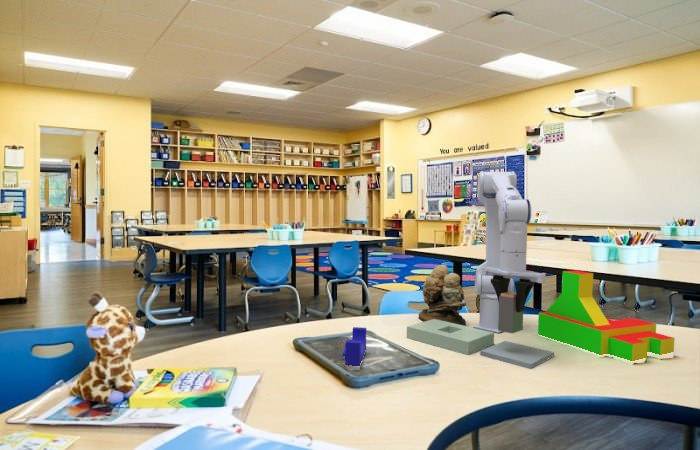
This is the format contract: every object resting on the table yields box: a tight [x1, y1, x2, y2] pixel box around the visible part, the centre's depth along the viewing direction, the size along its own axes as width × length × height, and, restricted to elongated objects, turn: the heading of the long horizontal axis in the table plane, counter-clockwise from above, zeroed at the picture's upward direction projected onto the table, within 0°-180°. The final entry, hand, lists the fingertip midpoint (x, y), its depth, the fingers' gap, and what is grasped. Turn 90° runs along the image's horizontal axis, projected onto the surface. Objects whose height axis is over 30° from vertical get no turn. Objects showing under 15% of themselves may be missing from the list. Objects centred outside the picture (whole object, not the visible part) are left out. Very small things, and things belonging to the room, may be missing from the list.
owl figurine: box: [418, 264, 467, 326], centre depth 139 cm, size 18×12×17 cm, turn 27°
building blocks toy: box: [537, 270, 675, 361], centre depth 117 cm, size 19×25×18 cm
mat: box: [479, 340, 555, 369], centre depth 108 cm, size 12×12×1 cm
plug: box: [498, 290, 524, 334], centre depth 109 cm, size 5×4×9 cm
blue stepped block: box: [342, 326, 367, 366], centre depth 103 cm, size 12×4×6 cm, turn 172°
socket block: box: [406, 319, 495, 356], centre depth 119 cm, size 12×18×3 cm, turn 45°
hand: (511, 309), depth 109 cm, fingers closed on plug, 3 cm apart
